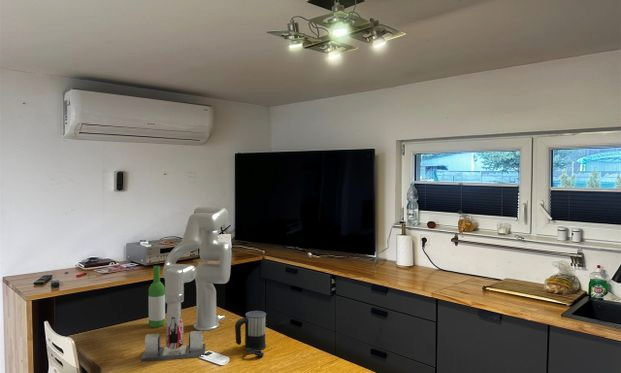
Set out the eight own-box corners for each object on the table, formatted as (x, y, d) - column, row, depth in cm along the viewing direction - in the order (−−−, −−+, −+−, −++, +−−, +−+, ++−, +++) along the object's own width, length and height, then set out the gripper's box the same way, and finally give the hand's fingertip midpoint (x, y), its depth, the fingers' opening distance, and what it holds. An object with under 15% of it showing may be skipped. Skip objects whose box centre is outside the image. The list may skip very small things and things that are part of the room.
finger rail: (205, 347, 188) (205, 328, 188) (204, 356, 178) (204, 336, 178) (145, 351, 183) (145, 332, 182) (141, 361, 173) (141, 341, 173)
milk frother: (258, 341, 195) (258, 309, 195) (280, 351, 184) (280, 317, 183) (231, 349, 185) (231, 316, 185) (253, 361, 174) (253, 325, 173)
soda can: (178, 350, 176) (177, 322, 176) (162, 349, 178) (162, 321, 177) (186, 344, 183) (186, 316, 183) (171, 342, 185) (171, 315, 184)
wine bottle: (154, 322, 219) (153, 264, 218) (168, 323, 218) (167, 264, 217) (145, 327, 212) (145, 267, 211) (159, 328, 210) (159, 268, 209)
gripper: (167, 292, 188) (168, 332, 188) (162, 304, 170) (162, 348, 171) (185, 291, 189) (185, 331, 190) (181, 303, 172) (182, 346, 173)
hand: (174, 338), depth 180 cm, fingers closed on soda can, 7 cm apart
